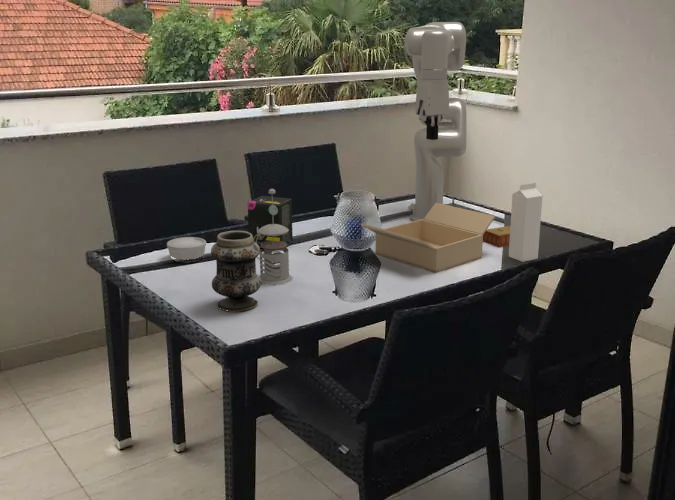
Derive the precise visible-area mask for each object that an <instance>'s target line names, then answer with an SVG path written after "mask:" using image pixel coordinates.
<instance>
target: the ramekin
mask: <svg viewBox="0 0 675 500" xmlns="http://www.w3.org/2000/svg"><path fill="white" fill-rule="evenodd" d="M206 245H207V241H206V240H205V239H204V238H201V237H195V236H183V237H176V238H173V239H170V240H168V241H167V242H166V247H167V249H168V253H169V256H170V255H171V256H172V257H174V258H176V259H183V260H186V259H187V260H189V259H196V258H199V257H201V256H203V255H204V256H205V252H206Z"/></svg>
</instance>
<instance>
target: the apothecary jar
mask: <svg viewBox="0 0 675 500" xmlns="http://www.w3.org/2000/svg"><path fill="white" fill-rule="evenodd" d="M216 239H217V240H216V243H213V245H212V247H211V249H210V254H211V257H212V258H213V259H214V260H215V262H216V275H215V276H214V277H213V278H212V280H211V288H212V290H213V291H214V292H215V293H216V294H218V295H220V296H222V297H225V298H223V299H221V300H219V302H217V308H218V307H219V308H218V309H220V308H221V309H224V310H228V311H227V312H229V311H240V312H246V311H249V309H250V310H253V309H255V308H256V307H258V304H259V303H258V300H256V299H255V298H254V297H252V296H251V295H254V294H255V293H256V292H257V291H259V290H260V288H261V286H262V284H261V279H260V277H259V276H260V275H258V274H257V263H256V259H257V257H258V256H260V255H259V253H260V247H259V245H258V244H257V243H256V242H254V240H253V236H252V234H251V233H249V232H248V231H245V230H229V231H223V232H220V233H219V234H217V238H216ZM254 307H255V308H254ZM252 308H253V309H252ZM221 309H220V310H221ZM224 310H223V311H224ZM245 310H246V311H245Z"/></svg>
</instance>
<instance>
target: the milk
mask: <svg viewBox="0 0 675 500" xmlns="http://www.w3.org/2000/svg"><path fill="white" fill-rule="evenodd" d="M536 183H537V182H532V183H524V184H520V185H519V190H517V191H516V192H514V193H512V194H511V195H512V197H511V209H510V210H511V213H510V225H509V226H510V242H509V246H508V257H509V258H511V259H514V260H517V261H519V262H522V263H523V262H527V261H528V262H529V261H533V260H538V258H539V245H540V234H541V233H540V232H541V220H542V219H541V217H542V208H543V207H542V206H543V195H542V194H541V192H540V191H539V190H538V188H537V184H536Z"/></svg>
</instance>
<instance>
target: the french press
mask: <svg viewBox="0 0 675 500" xmlns="http://www.w3.org/2000/svg"><path fill="white" fill-rule="evenodd" d="M268 194H269V195H271V197H272V215H273V197H274V196H273V195H275V194H276V189H274V188H270V189H268ZM288 230H289V229H287V228H286V227H284V226H282V225H278V224H274V221H273V224H268V225H266V226H263V227H261V228H260V229H259V230H258V232H259V233H260V234H262V235H267V236H273V241H268V242H266V243H265V242H264V243H262V244H261V248H263V249H260V253H259V255H258V256H259V257H258V256H257V257H256V259H258V260H259V269H260V271H259V272H260V275H258V276H259V277H260V279H261V283H262V284H263V283H264V284H263V285H265V284H269V285H268V286H278V285H277V284H281V285H286V284H289V283H291V282H292V281H293V280H292V278H293V279H294V277H293V276H292V275H291V274H290V268H289V267H290V264H289V263H290V259H289V256H290V255H289V248H288V246H287V244H286V243H285V242H278V241H274V236H279V235H284V234H286V233H288ZM260 234H257V235H258V236H259V235H260ZM257 235H256V236H257ZM256 236H255V237H256ZM258 236H257V239H258ZM255 237H254V238H255ZM254 238H253V240H254ZM263 238H264V236H263ZM257 239H256V243H257ZM260 239H262V238H261V235H260ZM275 250H280V251H275ZM274 251H275V252H274ZM281 251H282V252H281ZM290 281H291V282H290ZM288 282H289V283H288ZM285 283H286V284H285ZM262 284H261V285H262Z"/></svg>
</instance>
